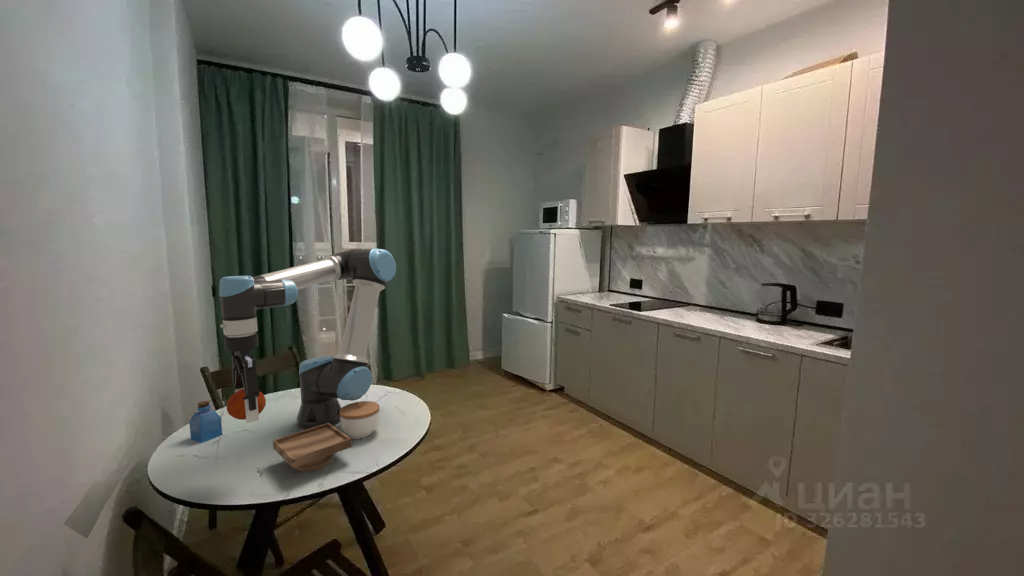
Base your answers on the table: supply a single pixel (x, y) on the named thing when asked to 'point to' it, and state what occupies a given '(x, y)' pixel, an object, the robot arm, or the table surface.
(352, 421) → the lidded bowl
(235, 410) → the fruit
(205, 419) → the perfume bottle
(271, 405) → the table surface
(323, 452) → the tray
